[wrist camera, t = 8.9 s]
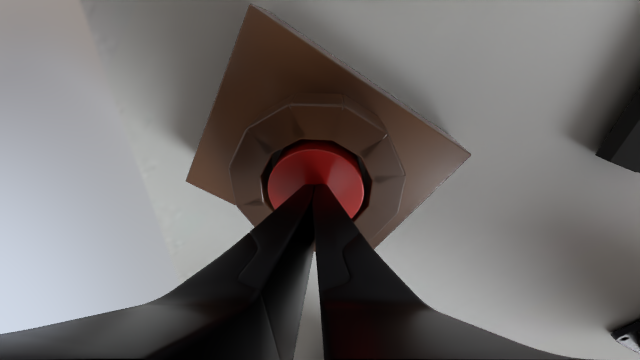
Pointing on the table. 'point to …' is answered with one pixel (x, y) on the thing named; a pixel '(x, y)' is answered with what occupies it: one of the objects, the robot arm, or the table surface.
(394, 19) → the table surface
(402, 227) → the table surface
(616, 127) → the remote control
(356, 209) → the button
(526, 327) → the table surface
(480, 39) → the table surface
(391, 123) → the button block
